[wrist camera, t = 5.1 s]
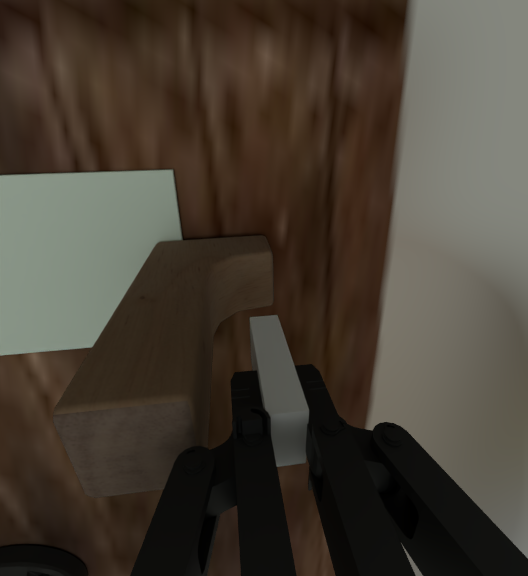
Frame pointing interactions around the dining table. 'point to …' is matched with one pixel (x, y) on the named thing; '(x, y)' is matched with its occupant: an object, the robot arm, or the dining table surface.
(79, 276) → the mat
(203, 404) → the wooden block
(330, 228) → the dining table surface
